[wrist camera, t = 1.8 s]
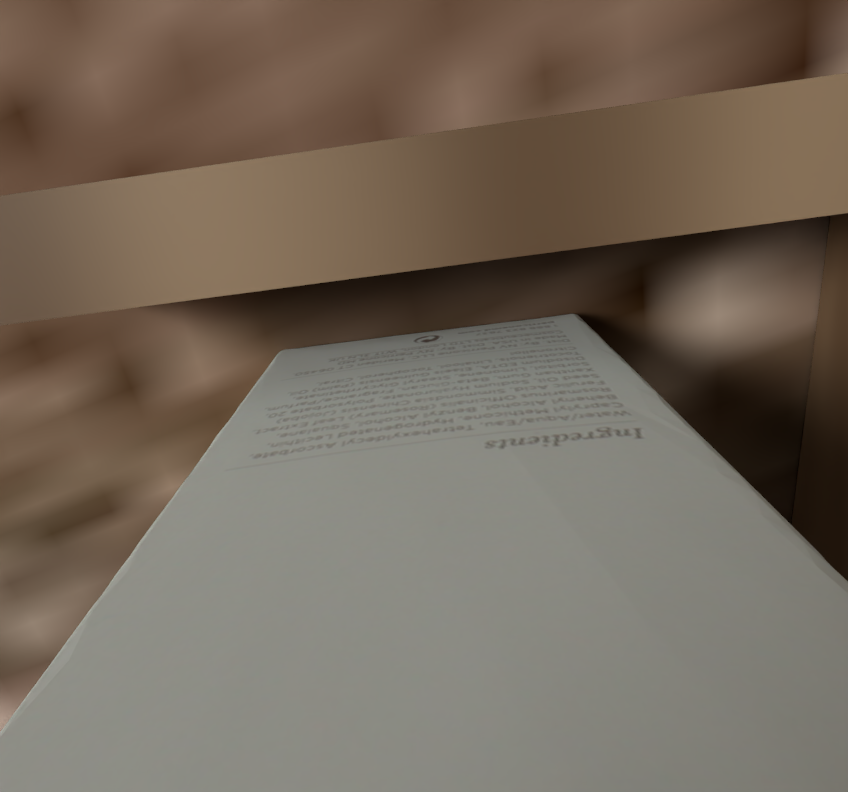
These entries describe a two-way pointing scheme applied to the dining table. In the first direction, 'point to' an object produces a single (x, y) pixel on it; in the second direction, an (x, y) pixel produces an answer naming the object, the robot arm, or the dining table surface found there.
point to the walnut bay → (470, 223)
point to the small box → (453, 595)
